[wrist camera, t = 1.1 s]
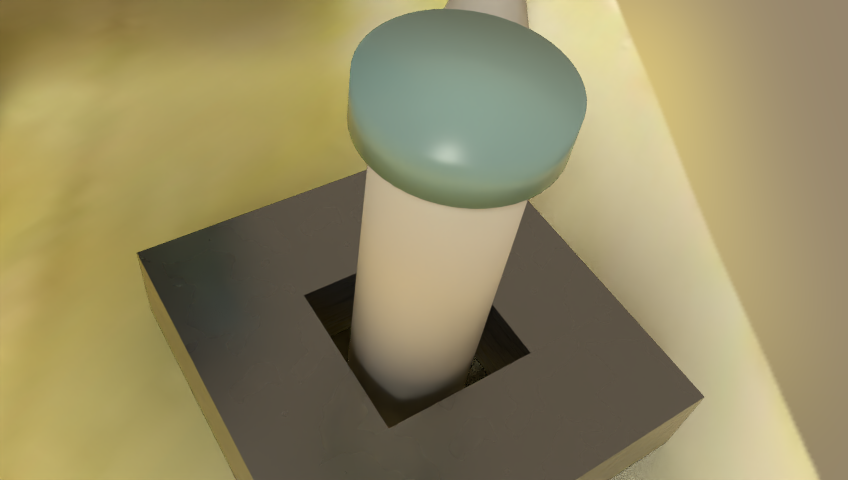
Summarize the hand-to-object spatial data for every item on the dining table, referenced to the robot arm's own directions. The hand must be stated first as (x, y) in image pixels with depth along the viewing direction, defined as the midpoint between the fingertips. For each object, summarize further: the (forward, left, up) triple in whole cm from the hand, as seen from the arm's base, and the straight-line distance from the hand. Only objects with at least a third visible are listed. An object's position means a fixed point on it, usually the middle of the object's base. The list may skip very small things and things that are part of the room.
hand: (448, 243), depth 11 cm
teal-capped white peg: (-7, +7, -21) cm, 23 cm away
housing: (-7, +7, -21) cm, 23 cm away
